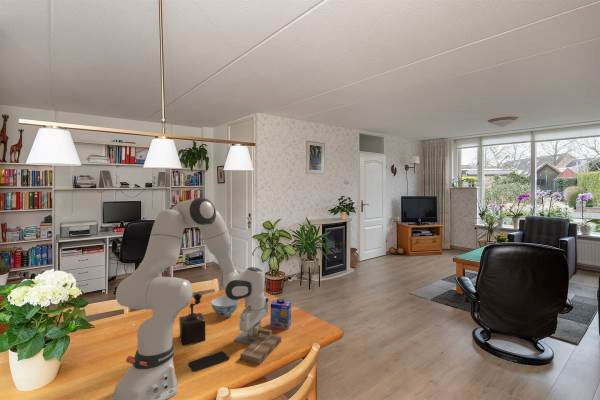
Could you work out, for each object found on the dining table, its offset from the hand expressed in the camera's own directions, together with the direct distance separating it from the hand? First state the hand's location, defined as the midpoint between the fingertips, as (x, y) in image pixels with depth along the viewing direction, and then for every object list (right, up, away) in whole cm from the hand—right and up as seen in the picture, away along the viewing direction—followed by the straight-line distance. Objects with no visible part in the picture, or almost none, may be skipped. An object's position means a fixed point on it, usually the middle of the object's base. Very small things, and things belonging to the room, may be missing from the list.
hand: (254, 332), depth 139 cm
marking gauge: (+3, -3, -1) cm, 4 cm away
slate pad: (-2, -4, +2) cm, 5 cm away
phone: (-16, -5, -18) cm, 24 cm away
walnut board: (+5, -4, -8) cm, 10 cm away
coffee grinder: (-30, -3, +3) cm, 30 cm away
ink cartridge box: (+11, -4, +15) cm, 19 cm away
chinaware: (-20, -3, +27) cm, 34 cm away
